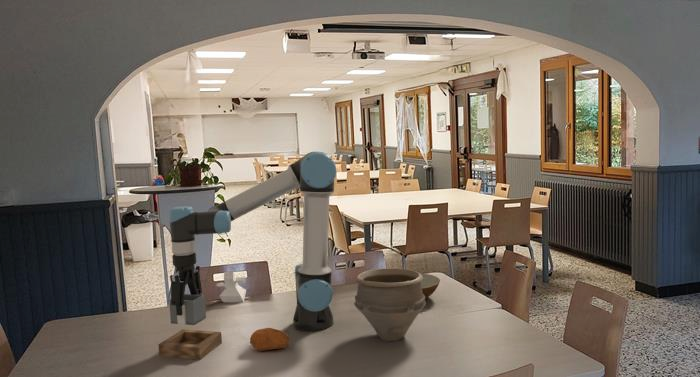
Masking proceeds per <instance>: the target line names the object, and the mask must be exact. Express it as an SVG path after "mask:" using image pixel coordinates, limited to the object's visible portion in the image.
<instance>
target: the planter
mask: <svg viewBox="0 0 700 377" xmlns="http://www.w3.org/2000/svg"><path fill="white" fill-rule="evenodd" d="M420 273H421V272H418V271H416V270H412V269H407V268H399V267H398V268H379V269H378V268H377V269H370V270H366V271H362V272H360V273H359V274H357V275H356V277H355V282H356V283H357V291H356V294H355V296H354V300H355V302H354V304H353V305H354V306H355V308H357V310H358V311H359V312H360V313H361V315H363V317H364V318H365V319H366V320H367V321H368V322H369V324H370V325H371V327H372V328H373V329H374V331H375V332H376V334H377V336H378V337H379V338H380V340H383V341H387V342H390V341H391V342H394V341H400V340H401V339H403V338H404V336H405V337H406V334H407V332H408V330H409V329H410V327H411V326H412V324H413V323H414V321H415V320H416V318H417V317H418V316H419V314H420V312H421V311H422V310H423V308H425V306H426V305H427V304H426V299H425V295H424V294H423V292H422V287H421V281H422V280H423V276H422V275H421V274H420Z"/></svg>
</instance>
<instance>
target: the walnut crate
mask: <svg viewBox="0 0 700 377" xmlns="http://www.w3.org/2000/svg"><path fill="white" fill-rule="evenodd" d="M222 343H223V338H222V332H221V331H211V330H200V329H199V330H195V329H180V331H178V332H176V333H175V334H173V335H172V336H169V337H168V338H166V339H165V340H163V341H161V342H160V343H158V344H157V345H158V356H159V357H163V358H164V357H166V358H175V359H176V358H178V359H188V360H190V359H191V360H202V359H203V358H204V357H206V356H207V355H208V354H210V353H211V352H213V351H214V350H215V349H216V348H218V346H220V345H221V344H222Z"/></svg>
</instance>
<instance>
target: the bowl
mask: <svg viewBox="0 0 700 377" xmlns="http://www.w3.org/2000/svg"><path fill="white" fill-rule="evenodd" d="M419 273H420V274H421V275H422V276H423V280H422V281H421V287H422V292H423V294H424V295H425V300H427V298H429V297H430V296H432V295H433V293H435V292H436V290H437V289H438V287H439V284H440V282H441V279H440V278H439V277H438V276H435V275H433V274H429V273H424V272H423V273H422V272H419Z"/></svg>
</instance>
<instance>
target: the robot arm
mask: <svg viewBox="0 0 700 377" xmlns="http://www.w3.org/2000/svg"><path fill="white" fill-rule="evenodd" d="M336 176H337V165H336V163H335V161H334V159H333V158H332V157H331V156H330V155H329V154H327V153H325V152H323V151H311V152H308V153H306V154H305V155H303V156H302V157H301V158H299V159H297V161H295V162H293V163H291V164H288V166H287V169H285V170H283V171H281V172H279V173H278V174H275V175H274V176H272V177H270V178H267V179H266V180H264V181H262V182H260V183H258V184H256V185H254V186H251V187H250V188H248V189H246V190H244V191H242V192H240V193H238V194H236V195H233V196H232V197H231V198H229V199H228V198H227V200H225V201H223V202H221V203H219V204H217V205H213V206H211V207H210V208H209V209H208V210H207V211H194V209H193V207H192V206H189V205H188V206H186V205H185V206H184V205H183V206H175V207H172V208H171V209H170V210H169V231H170V242H171V253H172V255H171V258H172V265H173V266H174V267H175V273H174V274H170V276H169V279H170V299H171V305H175V306H176V314H177V322H178V324H177V325H181V326H182V325H184V326H186V325H185V324H186V315H185V305H183V301H184V294H186V292H185V291H186V286H187V287H188V290H189V294H194V295H202V293H203V287H202V283H201V282H202V281H201V274H200V271H201V269H200V268H201V267H200V265H196V264H197V253H196V250H197V249H196V237H195V236H196V235H197V236H198V235H211V234H212V235H213V234H214V235H215V234H217V235H218V234H219V235H220V234H227V233H230V232H231V230H232V222H233V221H235V220H237V219H238V218H241V217H242V216H245V215H247V214H248V213H250V212H252V211H254V210H256V209H259V208H260V207H262V206H264V205H266V204H268V203H270V202H272V201H274V200H276V199H278V198H280V197H282V196H284V195H286V194H288V193H290V192H293V191H294V190H295V189H299V192H300V193H301V195H303V227H302V228H303V230H302V231H303V233H302V234H303V236H302V240H303V241H302V263H299V264H297V265H296V266H295V268H294V275H295V276H294V277H295V278H294V280H295V294H296V307H295V311H294V314H293V319H292V325H293V327H294V328H295V329H297V330H301V331H306V332H309V331H311V332H312V331H319V330H320V331H321V330H324V329H327V328H330V327H331V326H333V324H334V315H333V313H332V310H331V307H330V304H331V302H332V300H333V295H334V291H333V288H332V272H333V270H332V269H331V268H330V267H329V266H328V259H329V258H328V257H329V256H328V255H329V254H328V253H329V220H330V218H329V216H330V197H331V195H332V194H334V192H335V178H336Z"/></svg>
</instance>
